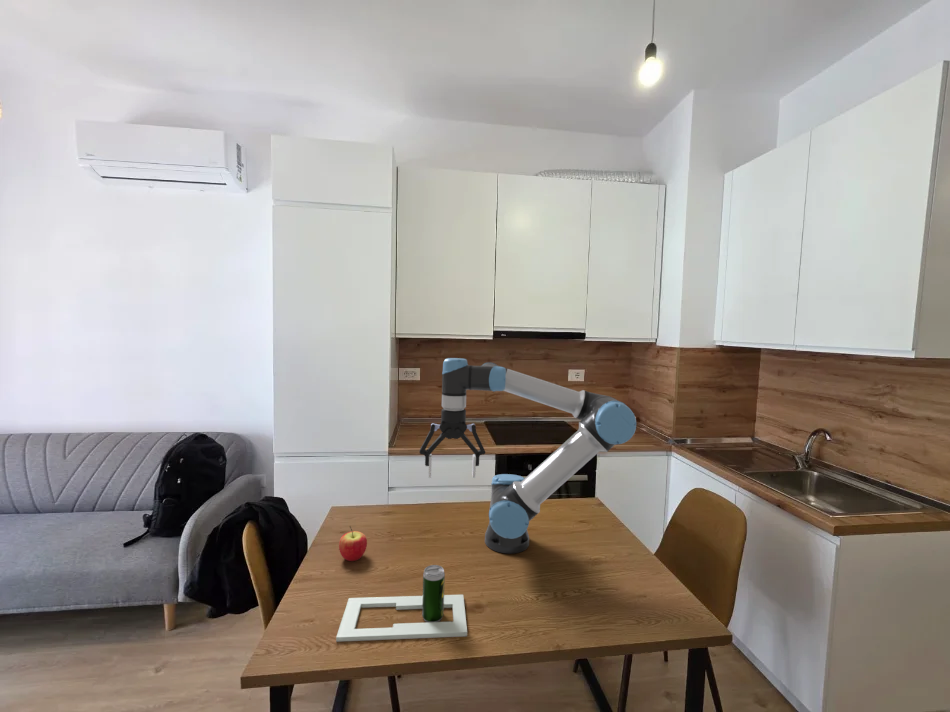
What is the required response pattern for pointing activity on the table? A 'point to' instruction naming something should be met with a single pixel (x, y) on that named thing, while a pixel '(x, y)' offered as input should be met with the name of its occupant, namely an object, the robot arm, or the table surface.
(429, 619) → the beer can
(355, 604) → the keyhole board
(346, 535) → the apple
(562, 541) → the table surface
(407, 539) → the table surface
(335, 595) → the table surface
